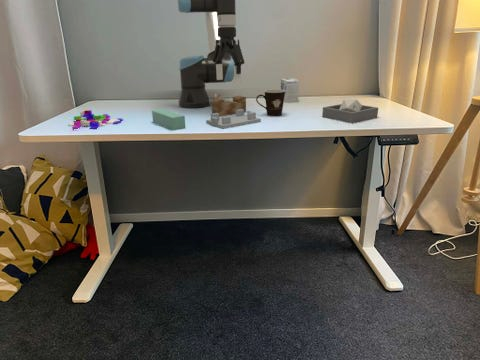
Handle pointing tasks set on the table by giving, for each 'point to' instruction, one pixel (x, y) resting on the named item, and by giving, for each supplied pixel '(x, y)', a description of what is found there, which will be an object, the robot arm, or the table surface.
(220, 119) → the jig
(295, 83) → the light bulb box
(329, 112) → the dice tray
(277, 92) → the coffee mug
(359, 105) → the white irregular lump
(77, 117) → the building block set
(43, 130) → the table surface
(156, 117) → the green rectangular block
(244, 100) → the wooden grain block
